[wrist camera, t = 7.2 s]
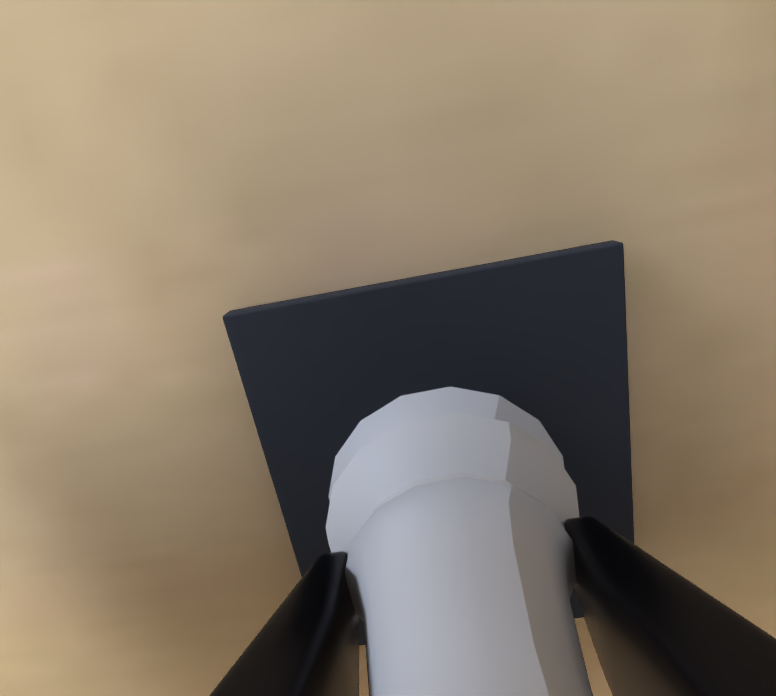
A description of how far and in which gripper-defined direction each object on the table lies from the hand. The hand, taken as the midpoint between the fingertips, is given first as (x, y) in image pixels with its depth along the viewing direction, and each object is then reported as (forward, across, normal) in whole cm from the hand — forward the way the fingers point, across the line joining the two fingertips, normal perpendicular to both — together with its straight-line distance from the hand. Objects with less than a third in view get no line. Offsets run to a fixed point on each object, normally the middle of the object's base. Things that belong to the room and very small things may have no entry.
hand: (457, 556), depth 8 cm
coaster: (+2, 0, 0) cm, 2 cm away
